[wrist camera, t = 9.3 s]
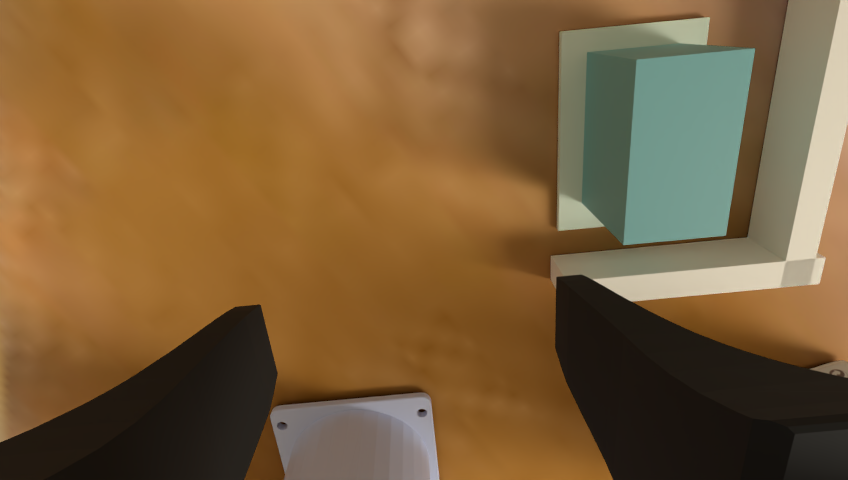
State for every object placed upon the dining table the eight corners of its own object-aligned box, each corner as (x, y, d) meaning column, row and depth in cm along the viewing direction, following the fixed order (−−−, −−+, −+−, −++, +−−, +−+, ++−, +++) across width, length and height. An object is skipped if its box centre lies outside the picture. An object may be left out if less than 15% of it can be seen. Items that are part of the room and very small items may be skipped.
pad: (682, 216, 22) (685, 219, 22) (556, 228, 22) (558, 230, 22) (705, 17, 19) (710, 16, 19) (559, 31, 19) (561, 31, 19)
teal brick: (664, 195, 21) (725, 235, 17) (581, 202, 21) (623, 245, 17) (679, 43, 19) (755, 48, 15) (587, 51, 19) (636, 59, 15)
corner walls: (778, 258, 23) (819, 283, 21) (550, 279, 23) (566, 307, 21) (845, -72, 18) (909, -87, 16) (553, -44, 18) (574, -54, 16)
